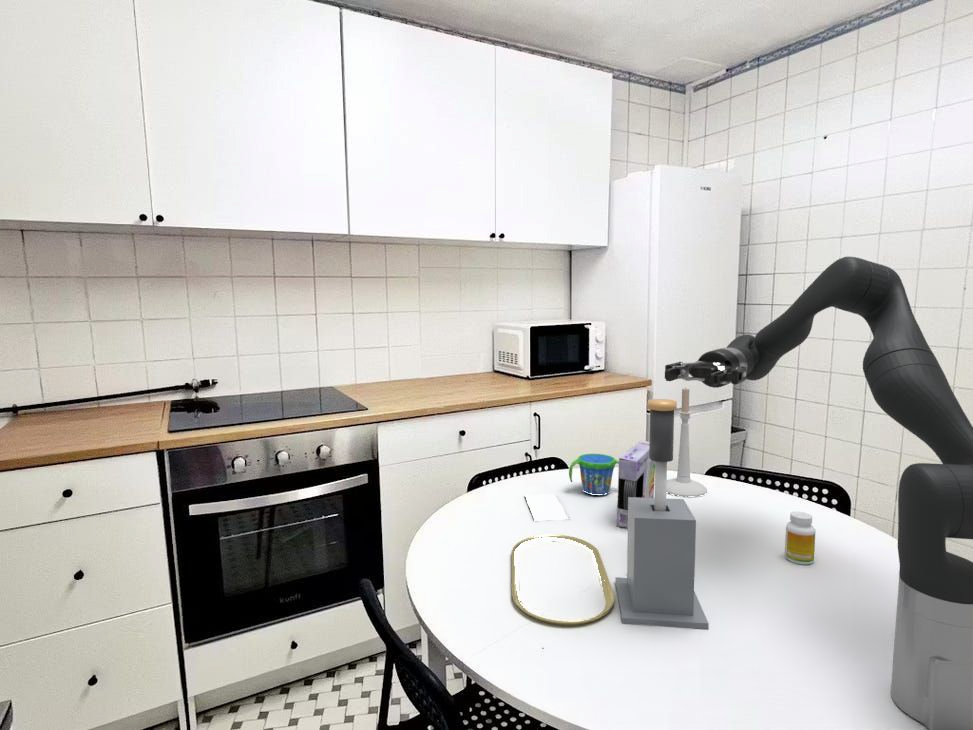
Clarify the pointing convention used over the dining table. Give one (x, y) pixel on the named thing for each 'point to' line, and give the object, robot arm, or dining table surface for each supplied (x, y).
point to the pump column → (660, 567)
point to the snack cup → (595, 472)
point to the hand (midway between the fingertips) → (689, 377)
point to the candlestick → (684, 459)
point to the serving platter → (605, 584)
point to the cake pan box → (634, 479)
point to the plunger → (661, 445)
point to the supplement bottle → (800, 539)
